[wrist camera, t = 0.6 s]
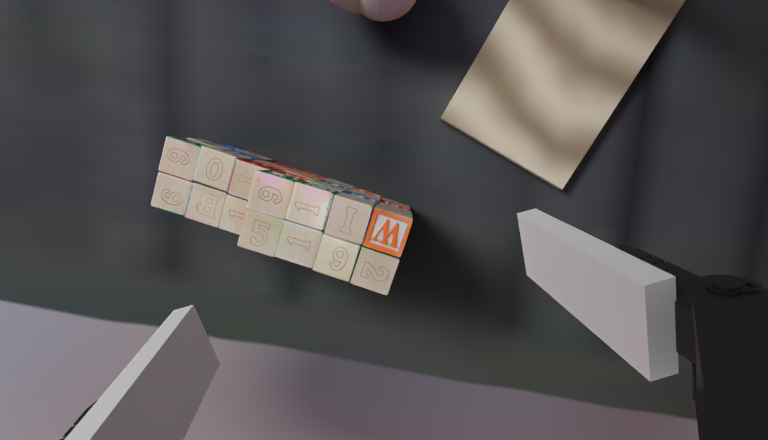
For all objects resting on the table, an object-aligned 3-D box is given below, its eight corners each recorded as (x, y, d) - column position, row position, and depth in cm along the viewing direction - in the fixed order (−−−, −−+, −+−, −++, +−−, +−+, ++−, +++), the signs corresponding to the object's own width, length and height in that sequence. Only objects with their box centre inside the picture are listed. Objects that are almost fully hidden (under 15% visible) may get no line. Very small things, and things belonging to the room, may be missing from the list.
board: (574, -112, 35) (579, -120, 34) (702, -34, 36) (711, -40, 35) (439, 119, 39) (440, 118, 38) (558, 188, 39) (562, 189, 38)
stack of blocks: (205, 197, 41) (121, 208, 29) (220, 141, 40) (139, 128, 28) (393, 260, 41) (388, 298, 29) (412, 205, 40) (415, 220, 28)
